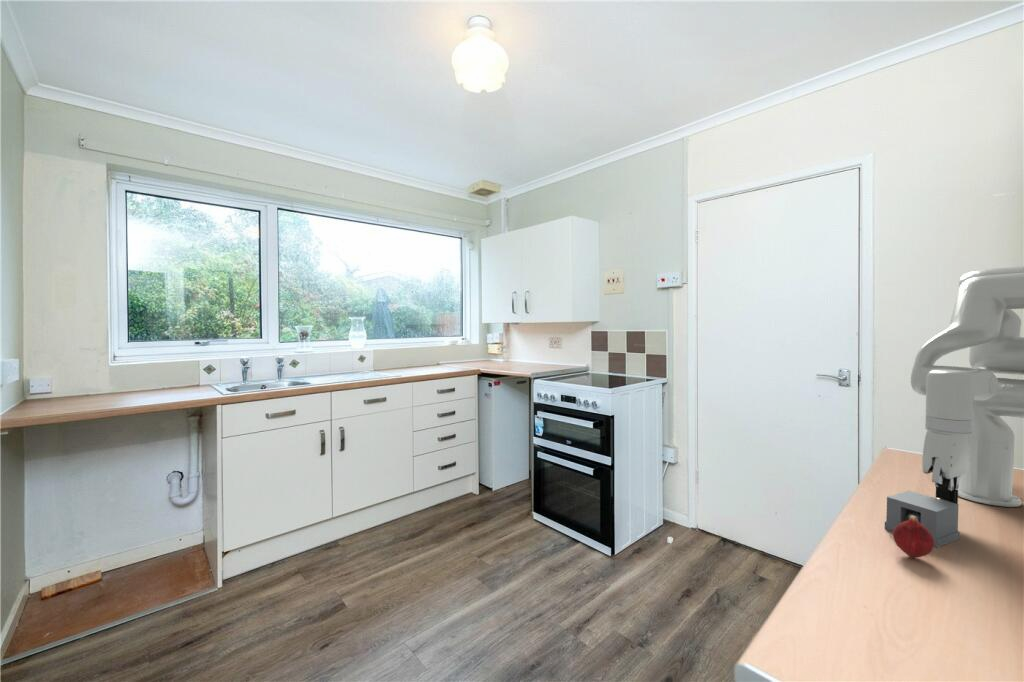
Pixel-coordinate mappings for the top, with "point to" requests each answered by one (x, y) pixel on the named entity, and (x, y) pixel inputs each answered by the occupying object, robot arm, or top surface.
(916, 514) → the shaft
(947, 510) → the housing
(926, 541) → the onion
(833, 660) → the top surface
